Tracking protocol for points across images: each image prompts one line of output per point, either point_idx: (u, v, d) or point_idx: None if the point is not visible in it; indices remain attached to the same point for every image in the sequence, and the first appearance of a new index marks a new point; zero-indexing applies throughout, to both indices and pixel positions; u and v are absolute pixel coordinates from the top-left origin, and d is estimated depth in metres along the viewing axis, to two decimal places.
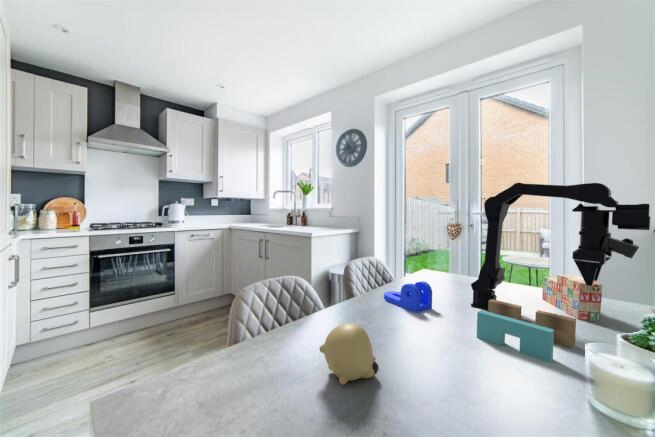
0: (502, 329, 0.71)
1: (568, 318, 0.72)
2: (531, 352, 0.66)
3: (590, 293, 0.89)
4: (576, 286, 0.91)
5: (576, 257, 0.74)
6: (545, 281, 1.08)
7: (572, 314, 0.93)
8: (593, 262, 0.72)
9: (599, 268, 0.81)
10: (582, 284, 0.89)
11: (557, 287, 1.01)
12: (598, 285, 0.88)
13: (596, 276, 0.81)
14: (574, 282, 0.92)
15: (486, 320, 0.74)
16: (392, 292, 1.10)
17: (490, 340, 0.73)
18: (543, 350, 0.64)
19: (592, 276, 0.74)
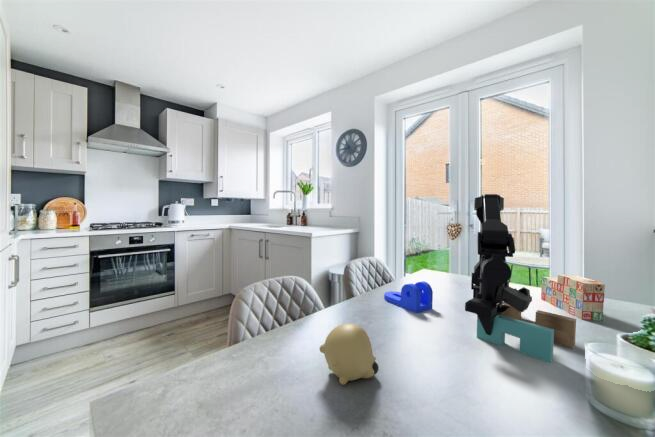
0: (502, 329, 0.71)
1: (568, 318, 0.72)
2: (531, 352, 0.66)
3: (593, 293, 0.89)
4: (579, 286, 0.91)
5: (467, 309, 0.70)
6: (544, 281, 1.09)
7: (575, 314, 0.93)
8: None
9: None
10: (585, 284, 0.89)
11: (558, 287, 1.01)
12: (601, 285, 0.89)
13: None
14: (577, 282, 0.92)
15: None
16: (392, 292, 1.10)
17: (490, 340, 0.73)
18: (543, 350, 0.64)
19: (490, 326, 0.72)
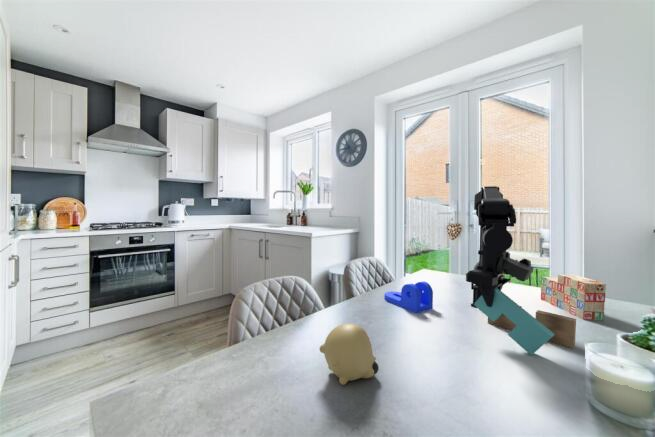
0: (504, 310, 0.70)
1: (568, 318, 0.72)
2: (519, 340, 0.68)
3: (594, 293, 0.89)
4: (581, 286, 0.91)
5: (468, 279, 0.69)
6: (544, 281, 1.09)
7: (576, 314, 0.93)
8: None
9: None
10: (587, 284, 0.89)
11: (558, 287, 1.01)
12: (602, 285, 0.89)
13: None
14: (578, 282, 0.92)
15: None
16: (392, 292, 1.10)
17: (485, 313, 0.74)
18: (532, 344, 0.66)
19: (491, 297, 0.72)
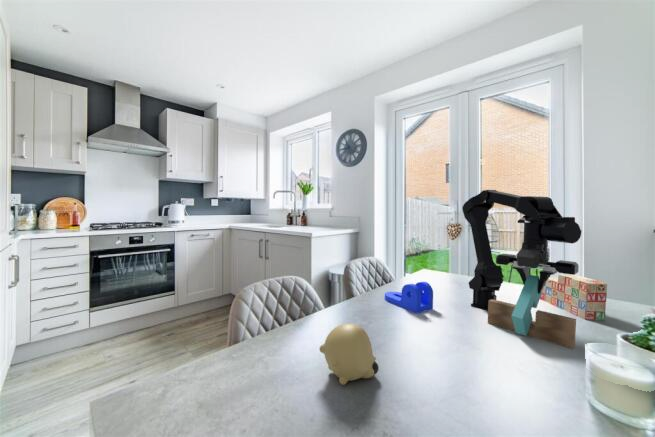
0: None
1: (568, 318, 0.72)
2: None
3: (596, 293, 0.89)
4: (583, 286, 0.91)
5: None
6: None
7: (578, 314, 0.93)
8: None
9: (539, 281, 0.80)
10: (589, 284, 0.89)
11: (558, 287, 1.01)
12: (603, 285, 0.89)
13: None
14: (580, 282, 0.92)
15: None
16: (393, 292, 1.10)
17: None
18: None
19: None
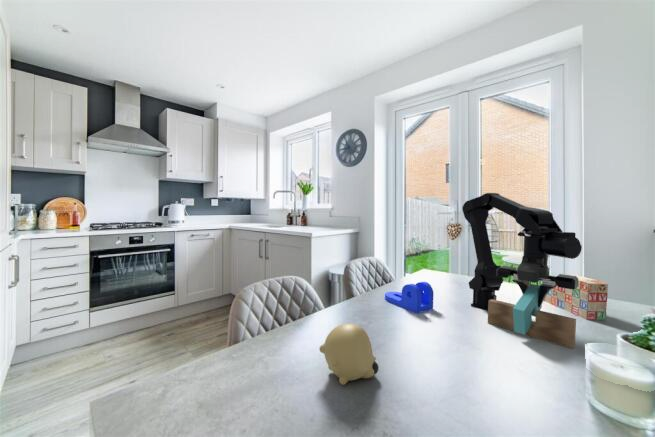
0: None
1: (568, 318, 0.72)
2: None
3: (597, 293, 0.89)
4: (584, 286, 0.91)
5: None
6: None
7: (579, 314, 0.93)
8: None
9: (539, 294, 0.80)
10: (590, 284, 0.89)
11: (559, 287, 1.01)
12: (604, 284, 0.89)
13: None
14: (581, 282, 0.92)
15: None
16: (393, 292, 1.10)
17: None
18: None
19: None
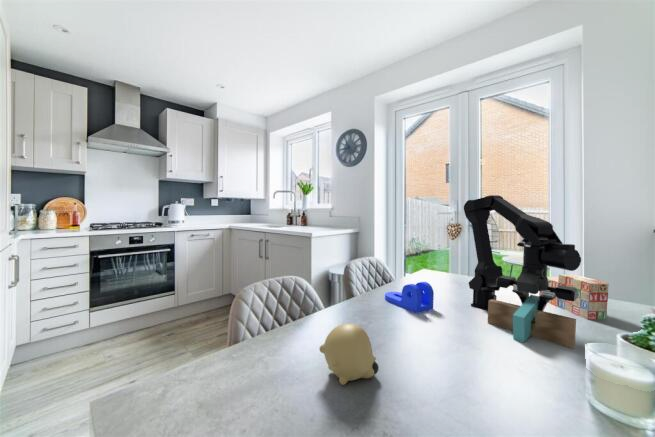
0: None
1: (568, 318, 0.72)
2: None
3: (598, 293, 0.89)
4: (585, 286, 0.91)
5: None
6: None
7: (579, 314, 0.93)
8: None
9: (539, 305, 0.80)
10: (591, 284, 0.89)
11: None
12: (605, 284, 0.89)
13: None
14: (582, 282, 0.92)
15: None
16: (393, 292, 1.10)
17: None
18: None
19: None
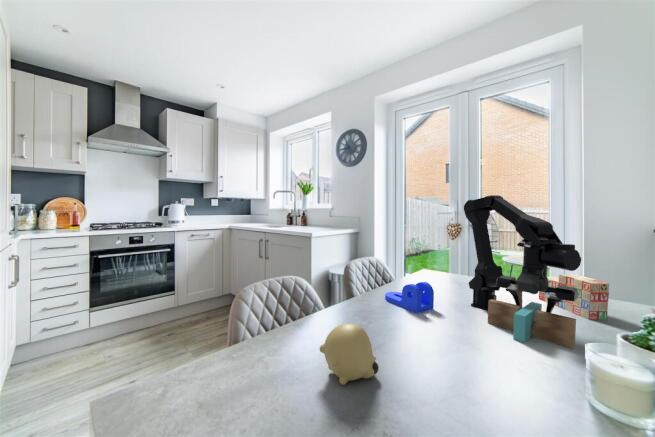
0: None
1: (568, 318, 0.72)
2: None
3: (599, 293, 0.90)
4: (586, 286, 0.91)
5: None
6: None
7: (580, 314, 0.93)
8: None
9: None
10: (592, 284, 0.89)
11: None
12: (606, 284, 0.90)
13: None
14: (582, 282, 0.92)
15: None
16: (393, 292, 1.09)
17: None
18: None
19: None
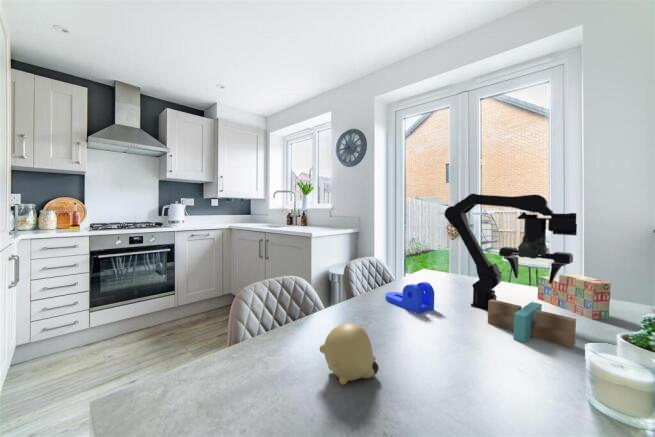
0: None
1: (568, 318, 0.72)
2: None
3: (601, 292, 0.90)
4: (588, 286, 0.91)
5: None
6: (542, 281, 1.09)
7: (583, 314, 0.93)
8: None
9: None
10: (595, 284, 0.90)
11: (560, 287, 1.01)
12: (608, 284, 0.90)
13: None
14: (585, 282, 0.92)
15: None
16: (394, 293, 1.09)
17: None
18: None
19: None
